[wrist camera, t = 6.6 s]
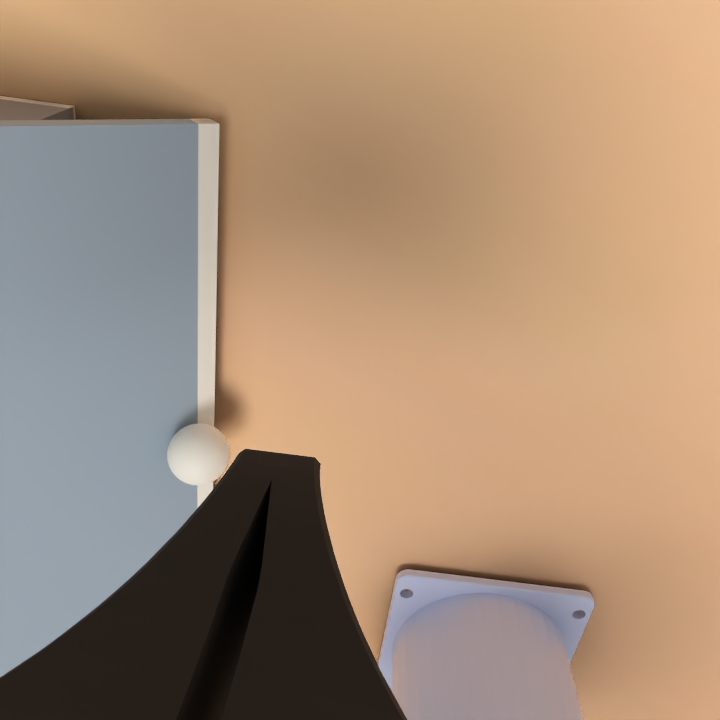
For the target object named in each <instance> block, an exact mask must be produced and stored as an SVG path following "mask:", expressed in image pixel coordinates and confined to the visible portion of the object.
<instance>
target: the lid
mask: <svg viewBox="0 0 720 720" xmlns="http://www.w3.org/2000/svg"><path fill="white" fill-rule="evenodd" d="M218 179H219V123H217V122H215V121H213V120H211V119H209V118H201V119H104V120H0V677H1V676H3V675H4V674H6V673H7V672H9V671H10V670H12V669H13V668H15V667H16V666H18V665H19V664H21V663H22V662H24V661H25V660H27V659H28V658H30V657H31V656H33V655H34V654H36V653H37V652H39V651H40V650H41V649H43V648H44V647H46V646H47V645H48V644H50V643H51V642H52V641H54V640H55V639H57V638H58V637H59V636H61V635H62V634H63V633H65V632H66V631H67V630H68V629H70V628H71V627H72V626H73V625H75V624H76V623H77V622H79V621H80V620H81V619H82V618H84V617H85V616H86V615H87V614H89V613H90V612H91V611H92V610H94V609H95V608H96V607H97V606H99V605H100V604H101V603H102V602H103V601H105V600H106V599H107V598H108V597H109V596H110V595H112V594H113V593H114V592H115V591H116V590H117V589H119V588H120V587H121V586H122V585H123V584H124V583H125V582H126V581H127V580H129V579H130V578H131V577H132V576H133V575H134V574H135V573H136V572H137V571H138V570H139V569H140V568H141V567H143V566H144V565H145V564H146V563H147V562H148V561H149V560H150V559H151V558H152V557H153V556H154V555H155V554H156V553H157V551H158V550H159V549H160V548H161V547H162V546H163V545H164V544H165V543H166V542H167V541H168V540H169V539H170V538H171V537H172V536H173V535H174V534H175V533H176V532H177V531H178V530H179V529H180V528H181V527H182V525H183V524H184V523H185V522H186V521H187V520H188V519H189V517H190V516H191V515H192V514H193V513H194V512H195V510H196V509H197V508H198V507H199V506H200V505H201V504H202V502H203V501H204V500H205V499H206V498H207V496H208V495H209V494H210V493H211V491H212V490H213V481H215V480H216V479H217V478H219V477H220V476H221V475H222V474H223V472H224V471H225V469H226V468H227V466H228V463H229V459H230V448H229V444H228V442H227V439H226V438H225V436H224V435H223V434H222V433H221V432H220V431H219V430H218V429H217V428H215V427H214V410H215V352H216V294H217V237H218Z"/></svg>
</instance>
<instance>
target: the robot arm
mask: <svg viewBox="0 0 720 720" xmlns="http://www.w3.org/2000/svg"><path fill="white" fill-rule="evenodd" d="M404 589H409V590H406V591H405V590H404ZM594 606H595V602H594V599H593V596H592V594H591V593H589V592H587V591H584V590H576V589H567V588H559V587H551V586H543V585H535V584H526V583H518V582H510V581H502V580H493V579H485V578H477V577H469V576H461V575H452V574H444V573H436V572H428V571H420V570H411V569H405V570H402V571H400V572H399V573H398V574H397V576H396V579H395V583H394V588H393V593H392V598H391V603H390V607H389V612H388V617H387V622H386V626H385V631H384V636H383V641H382V645H381V650H380V655H379V660H378V664H377V662H376V660H375V658H374V656H373V654H372V652H371V650H370V647H369V645H368V643H367V641H366V639H365V637H364V634H363V632H362V630H361V627H360V625H359V623H358V620H357V618H356V615H355V613H354V610H353V608H352V605H351V603H350V600H349V597H348V595H347V592H346V589H345V586H344V583H343V580H342V577H341V574H340V571H339V568H338V565H337V562H336V558H335V555H334V552H333V548H332V544H331V540H330V536H329V532H328V528H327V524H326V520H325V515H324V509H323V503H322V497H321V489H320V463H319V462H318V461H317V459H316V458H314V457H306V456H298V455H290V454H282V453H274V452H266V451H258V450H250V449H245V450H243V451H242V452H240V453H239V454H238V456H237V457H236V459H235V460H234V462H233V463H232V465H231V466H230V468H229V469H228V470H227V472H226V473H225V475H224V476H223V477H222V479H221V480H220V481H219V483H218V484H217V485H216V486H215V488H214V489H213V490H212V491H211V493H210V494H209V495H208V496H207V498H206V499H205V500H204V501H203V502H202V504H201V505H200V506H199V507H198V508H197V509H196V510H195V512H194V513H193V514H192V515H191V516H190V517H189V519H188V520H187V521H186V522H185V523H184V524H183V525H182V527H181V528H180V529H179V530H178V531H177V532H176V533H175V534H174V535H173V536H172V537H171V538H170V539H169V540H168V541H167V542H166V543H165V544H164V545H163V546H162V547H161V548H160V549H159V550H158V551H157V553H156V554H155V555H154V556H153V557H152V558H151V559H150V560H149V561H148V562H147V563H146V564H145V565H144V566H143V567H141V568H140V569H139V570H138V571H137V572H136V573H135V574H134V575H133V576H132V577H131V578H130V579H129V580H127V581H126V582H125V583H124V584H123V585H122V586H121V587H120V588H119V589H117V590H116V591H115V592H114V593H113V594H112V595H110V596H109V597H108V598H107V599H106V600H105V601H103V602H102V603H101V604H100V605H99V606H97V607H96V608H95V609H94V610H92V611H91V612H90V613H89V614H87V615H86V616H85V617H84V618H82V619H81V620H80V621H79V622H77V623H76V624H75V625H73V626H72V627H71V628H70V629H68V630H67V631H66V632H65V633H63V634H62V635H61V636H59V637H58V638H57V639H55V640H54V641H52V642H51V643H50V644H48V645H47V646H46V647H44V648H43V649H41V650H40V651H39V652H37V653H36V654H34V655H33V656H31V657H30V658H28V659H27V660H25V661H24V662H22V663H21V664H19V665H18V666H16V667H15V668H13V669H12V670H10V671H9V672H7V673H6V674H4V675H3V676H1V677H0V720H584V718H583V714H582V710H581V707H580V703H579V699H578V695H577V691H576V687H575V683H574V679H573V675H572V671H571V667H570V662H571V660H572V658H573V655H574V653H575V651H576V648H577V646H578V644H579V641H580V639H581V637H582V634H583V632H584V630H585V627H586V625H587V623H588V620H589V618H590V616H591V613H592V611H593V609H594ZM577 610H579V611H577Z"/></svg>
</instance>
